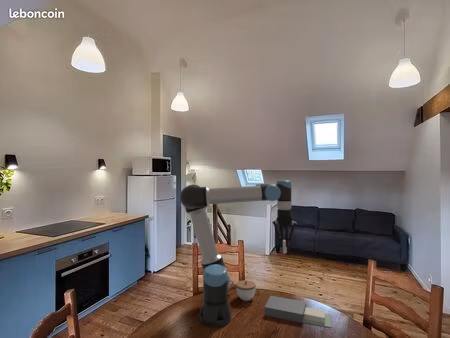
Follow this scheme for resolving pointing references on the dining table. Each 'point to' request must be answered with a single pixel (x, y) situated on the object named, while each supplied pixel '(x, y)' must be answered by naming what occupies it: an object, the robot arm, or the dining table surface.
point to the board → (285, 309)
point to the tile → (314, 315)
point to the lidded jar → (245, 289)
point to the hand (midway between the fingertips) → (284, 252)
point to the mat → (326, 324)
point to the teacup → (229, 283)
